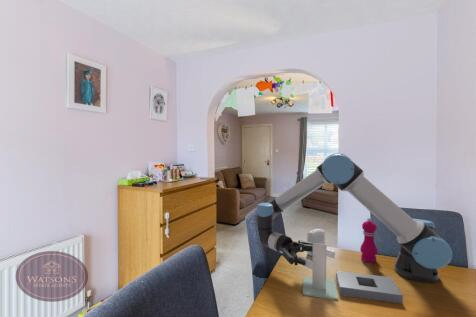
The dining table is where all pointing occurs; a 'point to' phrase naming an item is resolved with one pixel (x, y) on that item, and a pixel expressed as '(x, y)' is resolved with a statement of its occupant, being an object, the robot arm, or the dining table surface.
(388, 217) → the robot arm
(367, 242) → the pink bowling pin
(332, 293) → the pad
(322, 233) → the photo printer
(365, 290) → the grey holed plate
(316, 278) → the plug
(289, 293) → the dining table surface
